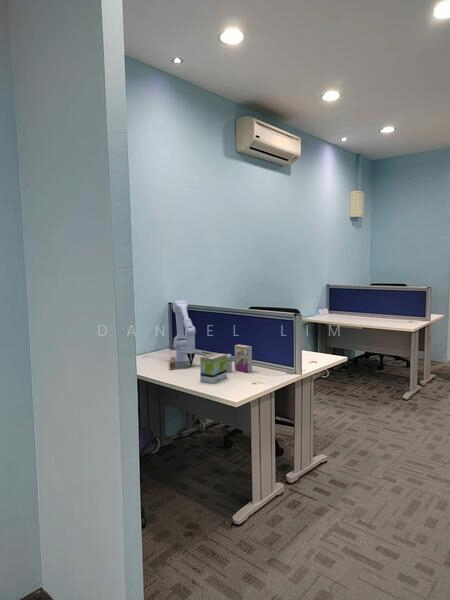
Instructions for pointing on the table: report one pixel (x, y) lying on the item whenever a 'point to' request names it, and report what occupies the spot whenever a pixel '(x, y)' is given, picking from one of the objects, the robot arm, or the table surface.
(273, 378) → the table surface
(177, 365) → the steel slab
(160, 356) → the table surface
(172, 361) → the stop bar
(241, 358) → the candy bar box
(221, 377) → the tea box
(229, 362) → the light bulb box
